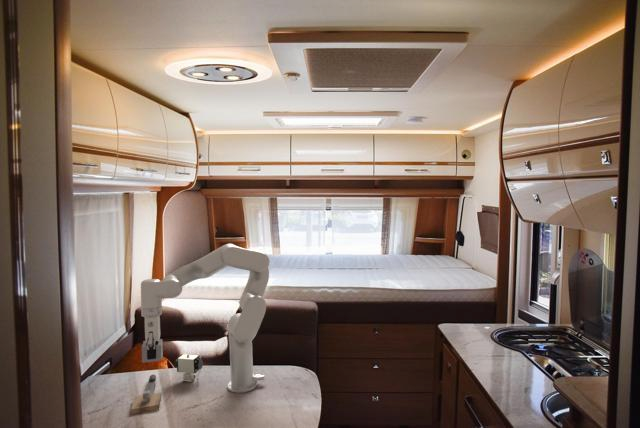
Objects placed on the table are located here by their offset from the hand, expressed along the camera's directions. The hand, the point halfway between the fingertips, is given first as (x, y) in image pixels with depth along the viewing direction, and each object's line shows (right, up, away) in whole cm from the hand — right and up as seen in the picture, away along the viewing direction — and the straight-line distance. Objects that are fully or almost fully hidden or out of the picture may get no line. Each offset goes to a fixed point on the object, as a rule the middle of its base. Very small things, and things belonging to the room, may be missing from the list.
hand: (152, 354), depth 161 cm
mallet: (-5, -20, +10) cm, 23 cm away
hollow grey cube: (0, -1, 0) cm, 1 cm away
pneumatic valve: (+8, -19, +22) cm, 31 cm away
